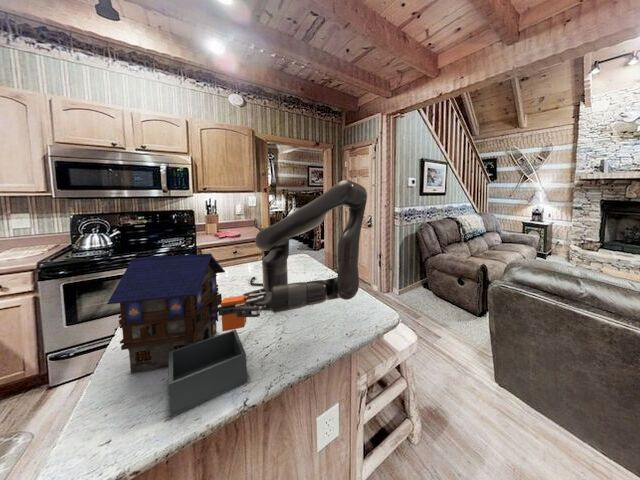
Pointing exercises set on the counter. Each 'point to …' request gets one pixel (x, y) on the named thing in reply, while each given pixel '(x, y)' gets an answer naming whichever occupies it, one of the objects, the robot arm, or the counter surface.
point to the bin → (205, 370)
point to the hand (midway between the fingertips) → (221, 308)
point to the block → (231, 319)
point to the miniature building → (166, 306)
